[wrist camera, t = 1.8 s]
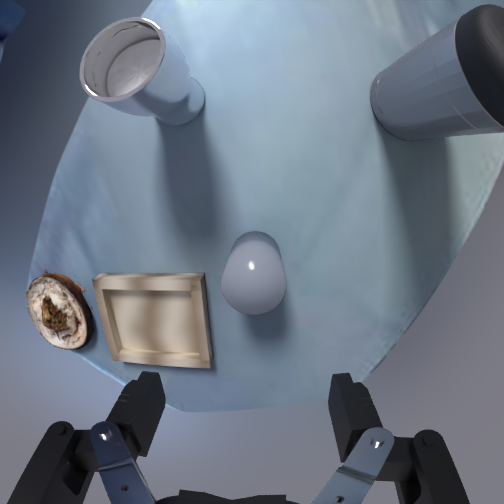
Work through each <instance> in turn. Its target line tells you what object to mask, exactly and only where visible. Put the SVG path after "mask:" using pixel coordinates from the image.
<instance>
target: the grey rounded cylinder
mask: <svg viewBox="0 0 504 504" xmlns="http://www.w3.org/2000/svg"><path fill="white" fill-rule="evenodd" d="M221 290H222V294H223V296H224V298H225V300H226V301H227V302H228V304H229V305H230V306H231V307H233V308H234V309H236V310H237V311H239V312H242V313H245V314H250V315H258V314H263V313H266V312H268V311H271V310H272V309H274V308H275V307H276V306H277V305H278V304H279V303H280V302H281V300H282V299H283V297H284V295H285V291H286V278H285V273H284V269H283V264H282V259H281V254H280V250H279V246H278V244H277V243H276V241H275V240H274V239H273V238H272V237H271V236H269V235H268V234H266V233H263V232H259V231H253V232H248V233H245V234H243V235H242V236H240V237H239V238H238V239H237V240H236V241H235V243H234V245H233V247H232V250H231V253H230V255H229V258H228V261H227V264H226V266H225V269H224V272H223V275H222V278H221Z"/></svg>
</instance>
